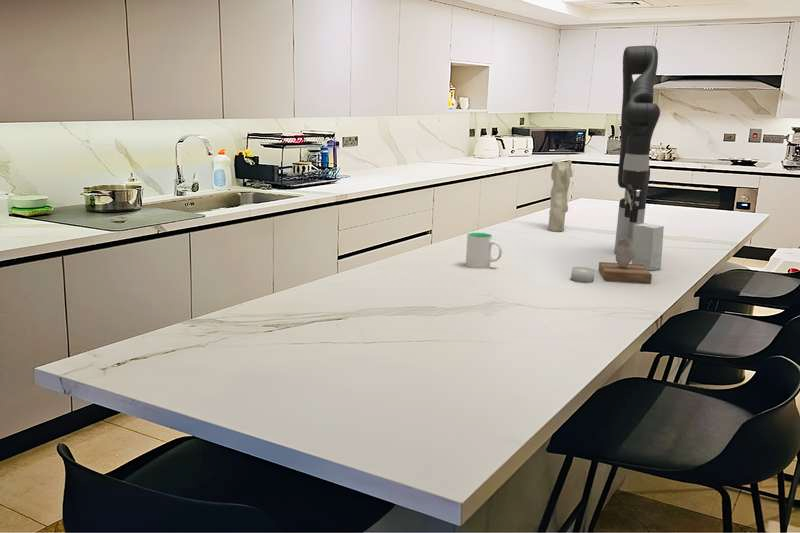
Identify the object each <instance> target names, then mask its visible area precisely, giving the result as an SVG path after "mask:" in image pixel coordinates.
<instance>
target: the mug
mask: <svg viewBox="0 0 800 533" xmlns="http://www.w3.org/2000/svg"><path fill="white" fill-rule="evenodd" d="M466 238H467V239H466V254H465V266H466V267H468V268H473V269H488V268H490V266H491V263H493V262H494V263H495V262H498V261H499V260H500V259H501V257H502V253H503V249H502V245H501V244H500V242H498V241H495V240H493V239H492V238H493V235H492V234H491V233H487V232H486V233H484V232H469V233H468V232H467V237H466ZM492 245H496V246H497V247H498V256H497V258H495V259H494V258H493V257H492Z"/></svg>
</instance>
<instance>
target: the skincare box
mask: <svg viewBox="0 0 800 533" xmlns="http://www.w3.org/2000/svg"><path fill="white" fill-rule="evenodd" d="M664 227H665V226H664V225H657V224H651V223H643V224H636V225H634V237H633V247H634V251H635V256H634V258H633V259H632V261H631V264H643V266H644V267H645V268H646V269H647V270H648V271H655V270H656V271H657V270H661V269H662V259H663V258H662V255H663V244H664V243H663V241H664Z"/></svg>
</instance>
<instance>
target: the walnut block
mask: <svg viewBox="0 0 800 533" xmlns="http://www.w3.org/2000/svg"><path fill="white" fill-rule="evenodd" d="M597 271H598V273H599V275H600V276H601V278H602V279H603V280H604V282H612V283H614V282H615V283H630V284H645V285H649V284H650V285H651V284H652V276H653V274H652V273H651V272H650V270H647V269H646V268H645V267H644V266H643V264H632V263H629V264H628V265H627V266H626V267H625V268H621V267H620V266H619V265H618V263H617V262H605V261H599V262H598V270H597Z"/></svg>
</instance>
